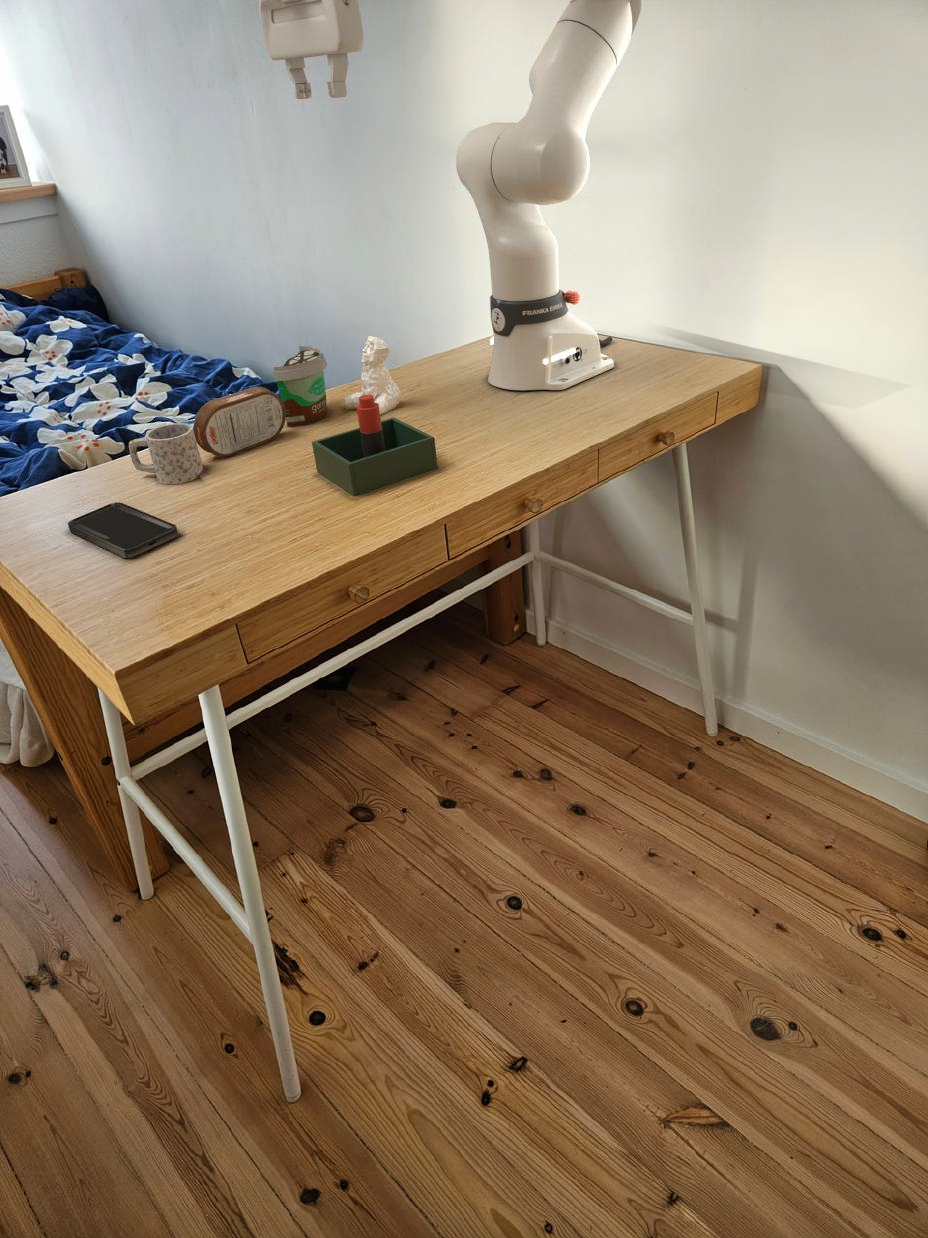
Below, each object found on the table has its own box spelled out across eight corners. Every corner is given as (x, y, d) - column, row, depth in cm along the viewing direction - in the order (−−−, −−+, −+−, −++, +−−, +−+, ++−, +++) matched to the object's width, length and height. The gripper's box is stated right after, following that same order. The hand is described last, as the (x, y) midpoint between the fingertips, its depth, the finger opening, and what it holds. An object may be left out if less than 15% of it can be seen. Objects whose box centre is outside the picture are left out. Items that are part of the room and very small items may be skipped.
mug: (209, 464, 133) (198, 421, 130) (195, 483, 128) (183, 438, 124) (145, 468, 134) (133, 425, 131) (128, 486, 129) (115, 442, 125)
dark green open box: (397, 449, 132) (393, 416, 129) (438, 471, 124) (434, 437, 121) (317, 475, 126) (311, 441, 124) (354, 499, 118) (348, 464, 116)
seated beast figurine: (342, 408, 150) (330, 336, 143) (388, 396, 153) (379, 325, 147) (365, 423, 143) (354, 348, 136) (413, 410, 146) (404, 336, 140)
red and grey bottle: (381, 463, 127) (370, 391, 121) (391, 469, 124) (382, 396, 119) (361, 469, 125) (350, 397, 120) (372, 476, 123) (361, 402, 118)
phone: (117, 500, 121) (179, 526, 113) (119, 508, 122) (182, 534, 113) (63, 523, 117) (124, 552, 108) (66, 531, 117) (127, 560, 108)
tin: (282, 430, 143) (271, 378, 139) (293, 434, 141) (283, 382, 137) (199, 461, 135) (185, 407, 130) (210, 466, 133) (196, 411, 128)
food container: (320, 429, 142) (309, 367, 137) (284, 430, 143) (271, 368, 138) (344, 403, 152) (335, 344, 147) (310, 403, 153) (300, 344, 148)
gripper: (368, -45, 103) (382, 94, 111) (289, -24, 118) (306, 97, 125) (319, -44, 101) (338, 98, 108) (244, -23, 115) (265, 101, 122)
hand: (320, 97), depth 117 cm, fingers open, 8 cm apart
